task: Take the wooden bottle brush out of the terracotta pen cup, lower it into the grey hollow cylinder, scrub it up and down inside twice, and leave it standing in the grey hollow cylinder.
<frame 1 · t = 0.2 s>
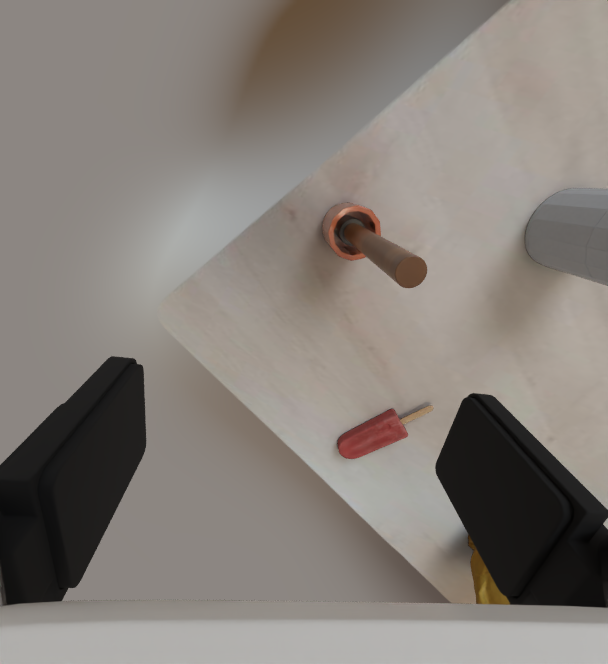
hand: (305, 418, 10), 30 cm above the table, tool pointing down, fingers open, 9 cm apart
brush: (345, 227, 36), resting on pen cup
grey hollow cylinder: (561, 228, 39), on the table
pen cup: (344, 226, 37), on the table
pitcher: (495, 530, 61), on the table
popsicle: (383, 424, 49), on the table
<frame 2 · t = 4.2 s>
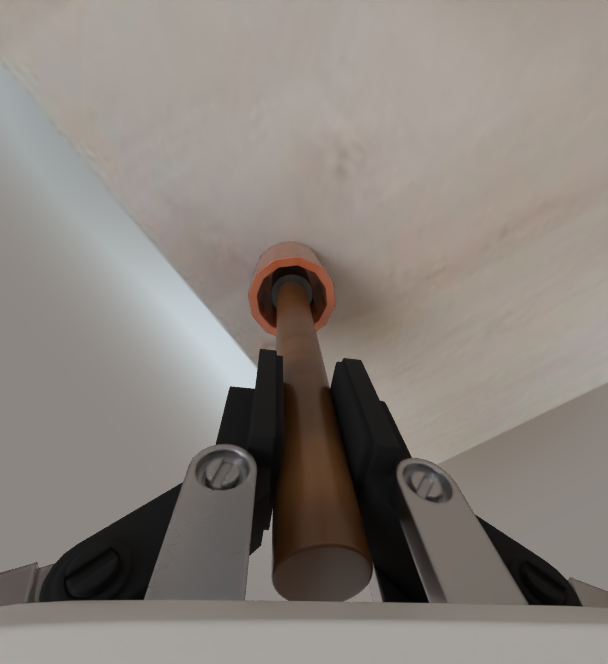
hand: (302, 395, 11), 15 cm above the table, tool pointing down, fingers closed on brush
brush: (290, 278, 24), point 1 cm above the table, touching gripper, pen cup
pen cup: (289, 276, 24), on the table
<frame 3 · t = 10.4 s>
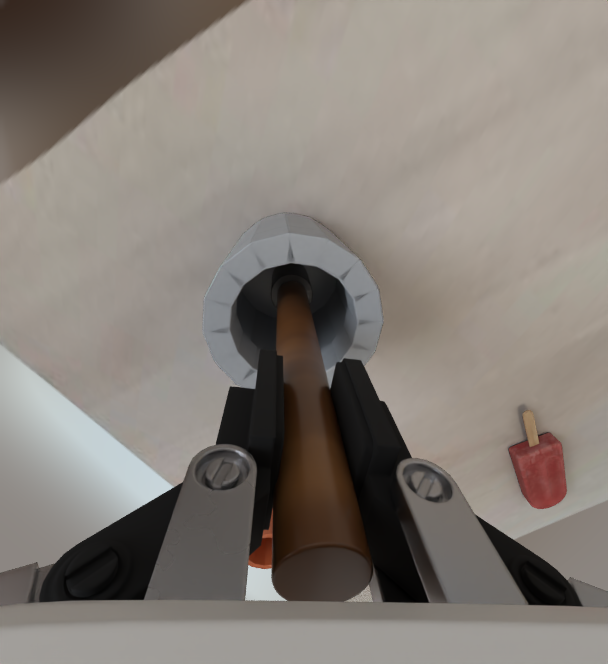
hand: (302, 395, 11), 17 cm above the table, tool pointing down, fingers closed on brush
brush: (290, 278, 24), point 2 cm above the table, touching gripper
grey hollow cylinder: (288, 271, 26), on the table
pen cup: (268, 501, 36), on the table
popsicle: (530, 453, 36), on the table
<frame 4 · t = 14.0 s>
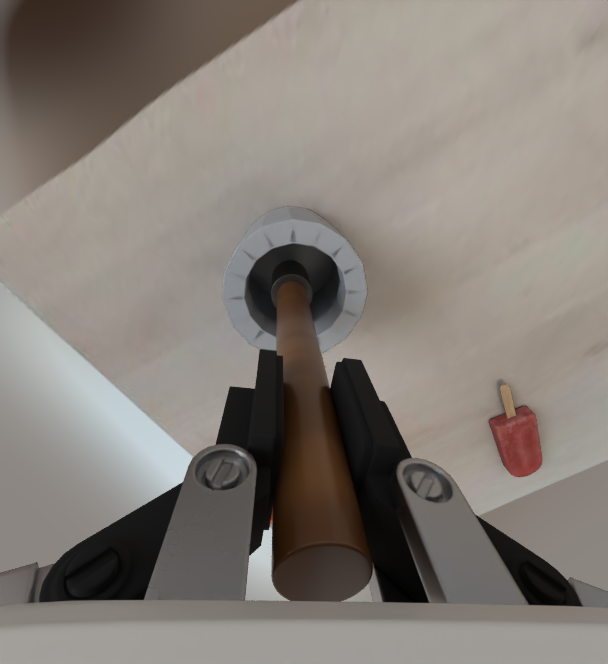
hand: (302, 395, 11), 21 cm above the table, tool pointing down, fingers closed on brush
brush: (290, 278, 24), point 7 cm above the table, touching gripper
grey hollow cylinder: (291, 257, 30), on the table
popsicle: (509, 425, 40), on the table
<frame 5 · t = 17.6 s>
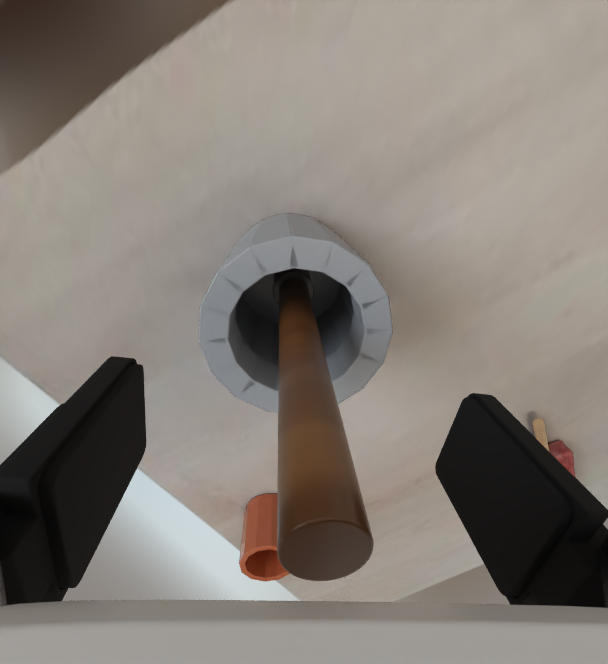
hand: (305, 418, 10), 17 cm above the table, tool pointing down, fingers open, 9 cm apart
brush: (291, 275, 24), point 1 cm above the table, touching grey hollow cylinder
grey hollow cylinder: (290, 274, 25), on the table
pen cup: (269, 510, 35), on the table
popsicle: (539, 461, 35), on the table
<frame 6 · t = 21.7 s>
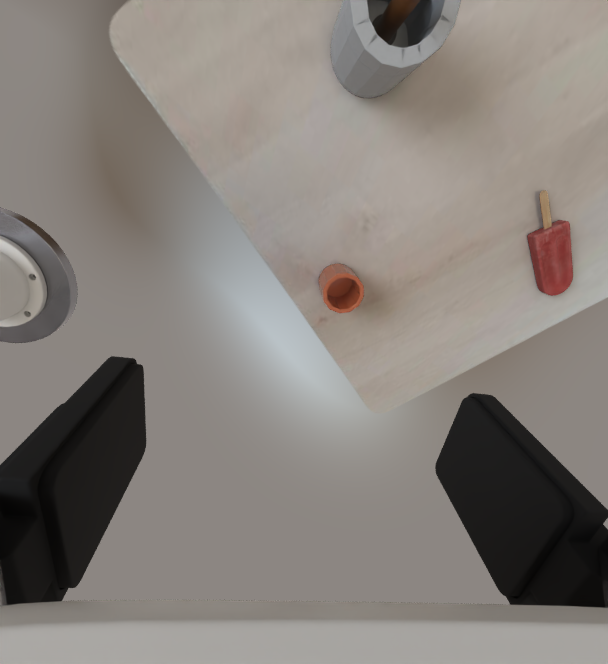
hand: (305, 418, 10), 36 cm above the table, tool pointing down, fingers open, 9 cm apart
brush: (372, 47, 35), point 1 cm above the table, touching grey hollow cylinder
grey hollow cylinder: (370, 49, 35), on the table
pen cup: (336, 281, 46), on the table
popsicle: (544, 244, 46), on the table
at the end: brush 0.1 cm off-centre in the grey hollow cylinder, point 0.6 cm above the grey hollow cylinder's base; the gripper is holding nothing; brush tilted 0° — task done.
